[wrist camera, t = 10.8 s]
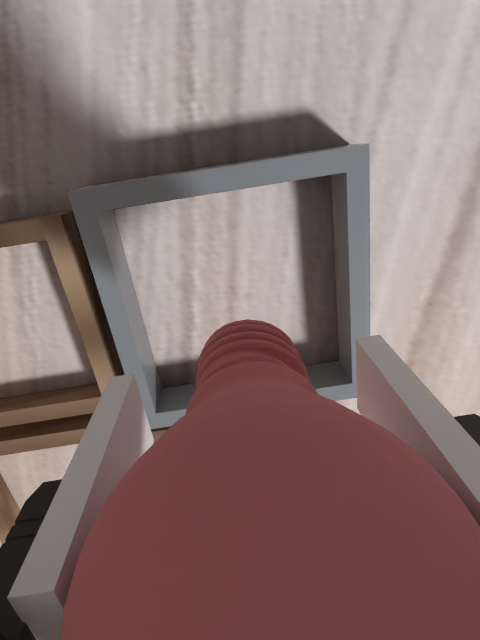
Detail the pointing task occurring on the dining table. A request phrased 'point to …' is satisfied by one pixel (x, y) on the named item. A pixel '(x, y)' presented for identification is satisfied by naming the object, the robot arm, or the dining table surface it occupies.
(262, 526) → the light bulb
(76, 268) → the frame
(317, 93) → the dining table surface
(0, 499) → the frame
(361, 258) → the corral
